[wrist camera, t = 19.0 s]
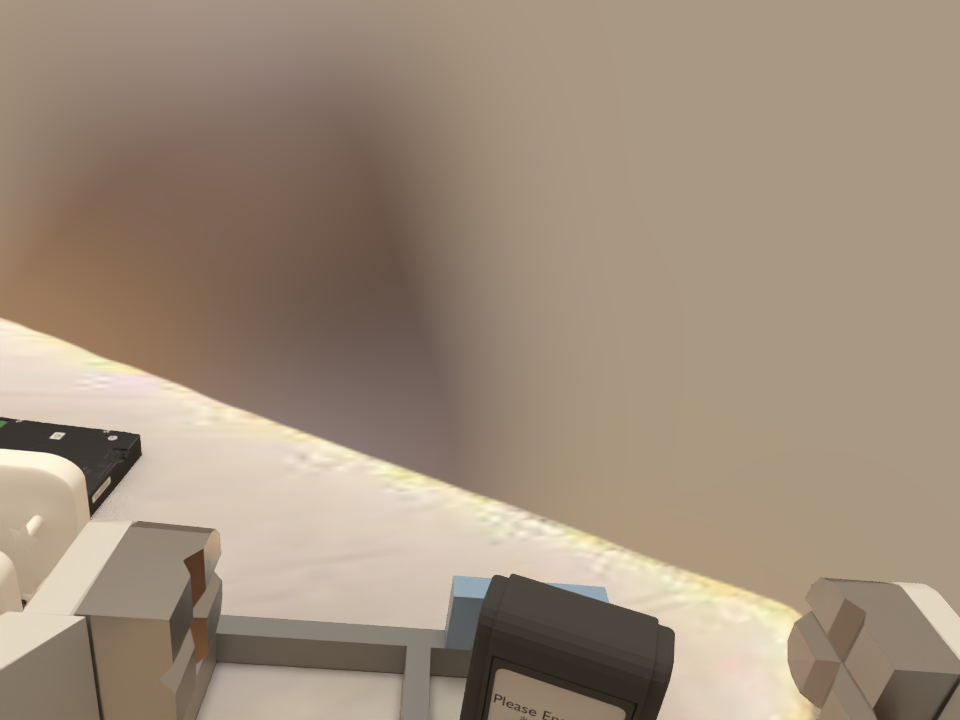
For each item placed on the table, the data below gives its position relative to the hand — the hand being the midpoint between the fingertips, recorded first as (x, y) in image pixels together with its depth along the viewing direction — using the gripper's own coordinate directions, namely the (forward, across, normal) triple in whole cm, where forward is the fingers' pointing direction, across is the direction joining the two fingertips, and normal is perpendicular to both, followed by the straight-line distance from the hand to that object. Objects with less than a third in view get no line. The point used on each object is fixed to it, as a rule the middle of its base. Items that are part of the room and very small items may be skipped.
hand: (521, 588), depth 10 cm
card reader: (+17, -7, +32) cm, 37 cm away
